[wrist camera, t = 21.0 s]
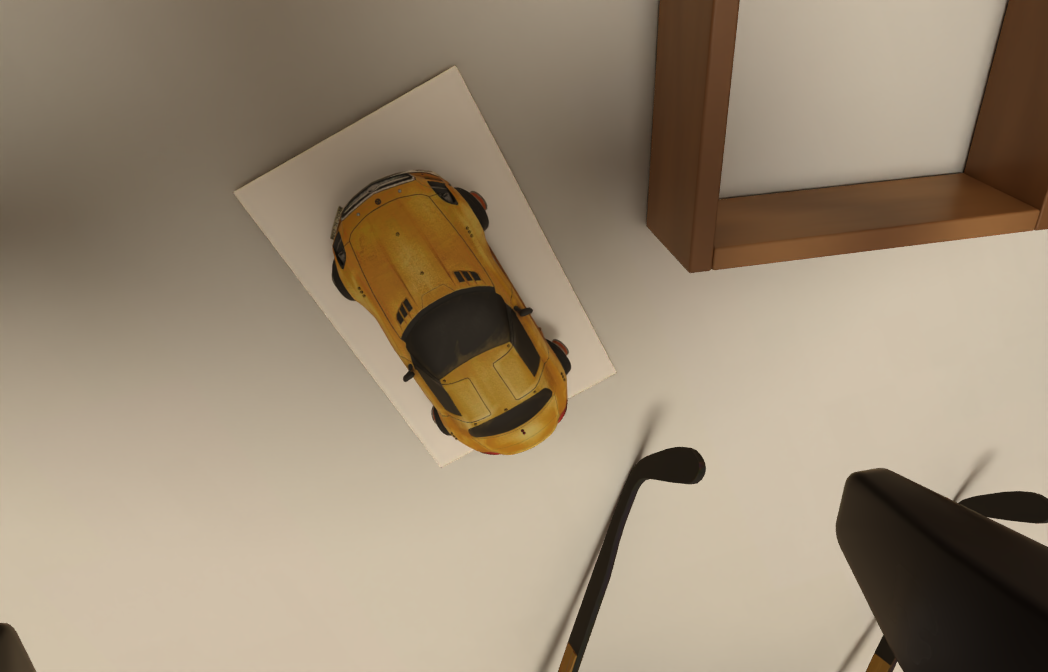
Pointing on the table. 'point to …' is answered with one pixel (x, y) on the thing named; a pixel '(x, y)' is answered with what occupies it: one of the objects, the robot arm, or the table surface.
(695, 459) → the sunglasses
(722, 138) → the box
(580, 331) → the toy car
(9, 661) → the robot arm
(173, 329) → the table surface
